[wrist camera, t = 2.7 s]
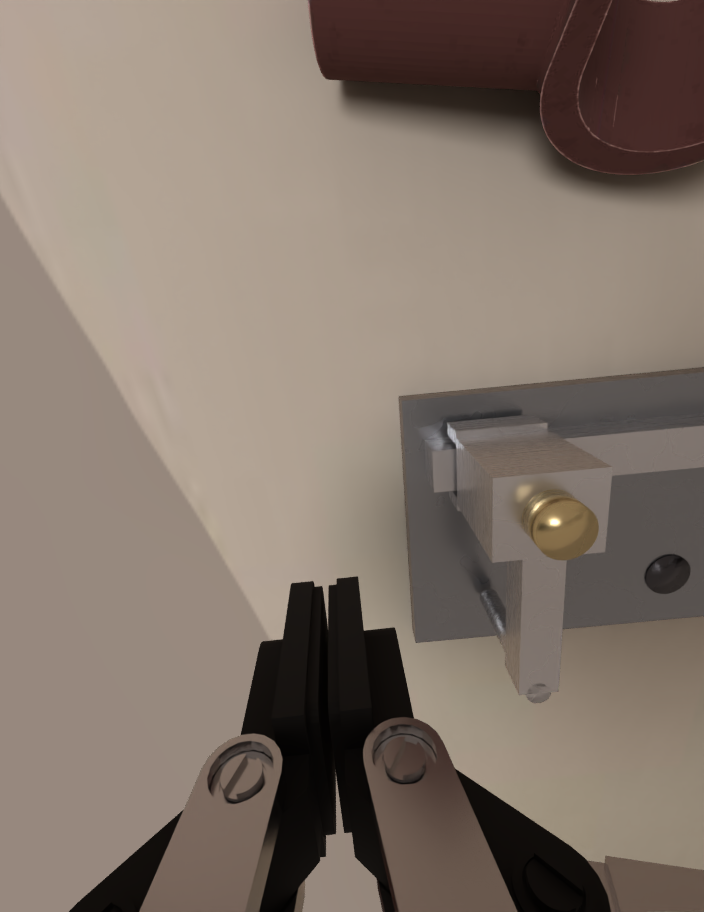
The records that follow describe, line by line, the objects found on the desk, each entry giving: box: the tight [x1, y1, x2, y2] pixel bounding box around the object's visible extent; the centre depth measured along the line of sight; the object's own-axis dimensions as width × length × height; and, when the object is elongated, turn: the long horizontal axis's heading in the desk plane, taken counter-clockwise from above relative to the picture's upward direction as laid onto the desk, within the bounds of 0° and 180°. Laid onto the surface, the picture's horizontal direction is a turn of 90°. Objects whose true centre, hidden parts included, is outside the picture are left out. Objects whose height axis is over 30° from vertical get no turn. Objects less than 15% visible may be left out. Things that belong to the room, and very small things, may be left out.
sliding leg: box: [447, 414, 613, 703], centre depth 19 cm, size 4×10×8 cm, turn 5°
